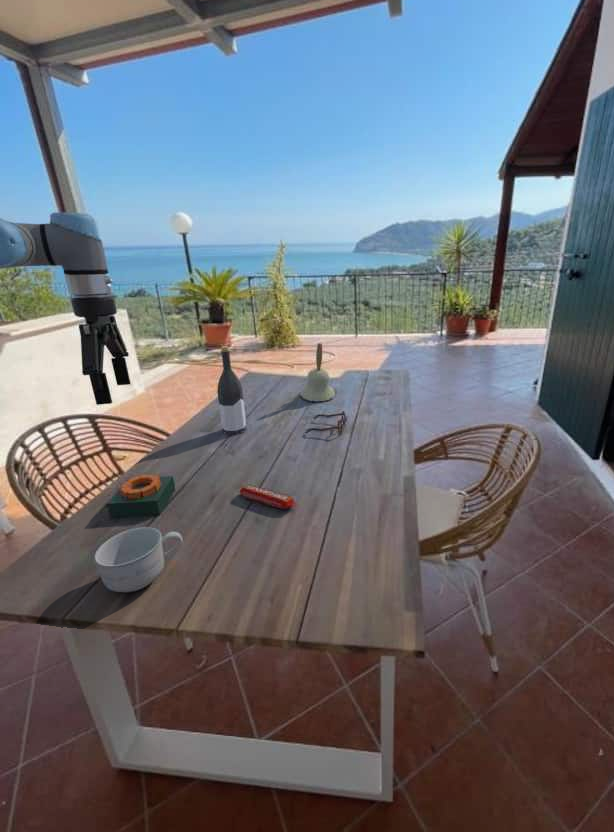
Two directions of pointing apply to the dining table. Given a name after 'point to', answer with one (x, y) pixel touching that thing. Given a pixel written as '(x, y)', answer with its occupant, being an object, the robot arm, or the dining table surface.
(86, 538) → the dining table surface
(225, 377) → the wine bottle
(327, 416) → the glasses
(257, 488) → the candy bar
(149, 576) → the teacup
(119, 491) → the block
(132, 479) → the ring
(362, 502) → the dining table surface
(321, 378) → the handbell
